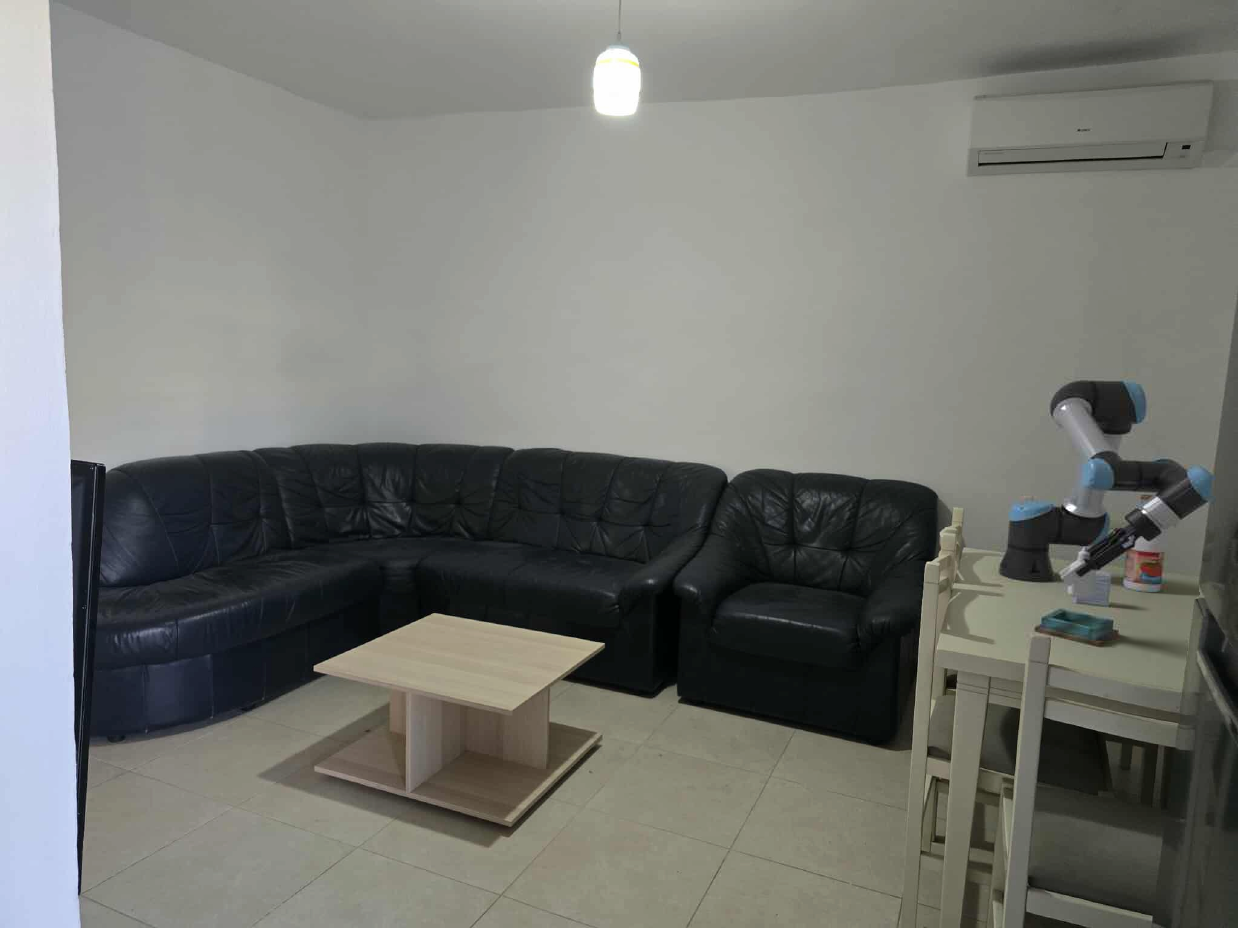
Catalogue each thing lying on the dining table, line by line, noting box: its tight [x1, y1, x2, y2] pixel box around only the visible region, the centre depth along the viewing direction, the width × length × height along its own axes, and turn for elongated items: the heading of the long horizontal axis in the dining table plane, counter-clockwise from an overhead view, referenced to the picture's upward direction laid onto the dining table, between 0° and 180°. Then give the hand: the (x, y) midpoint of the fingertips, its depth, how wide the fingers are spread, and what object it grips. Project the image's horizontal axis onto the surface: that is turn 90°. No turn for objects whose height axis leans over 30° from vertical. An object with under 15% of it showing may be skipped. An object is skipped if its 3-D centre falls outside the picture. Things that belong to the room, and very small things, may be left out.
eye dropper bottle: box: [1066, 546, 1097, 598], centre depth 192 cm, size 4×6×12 cm
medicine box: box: [1074, 571, 1112, 608], centre depth 220 cm, size 8×4×9 cm, turn 65°
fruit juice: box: [1122, 494, 1167, 593], centre depth 236 cm, size 9×9×28 cm
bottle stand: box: [1034, 608, 1119, 648], centre depth 194 cm, size 14×14×4 cm
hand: (1064, 579), depth 194 cm, fingers closed on eye dropper bottle, 4 cm apart
